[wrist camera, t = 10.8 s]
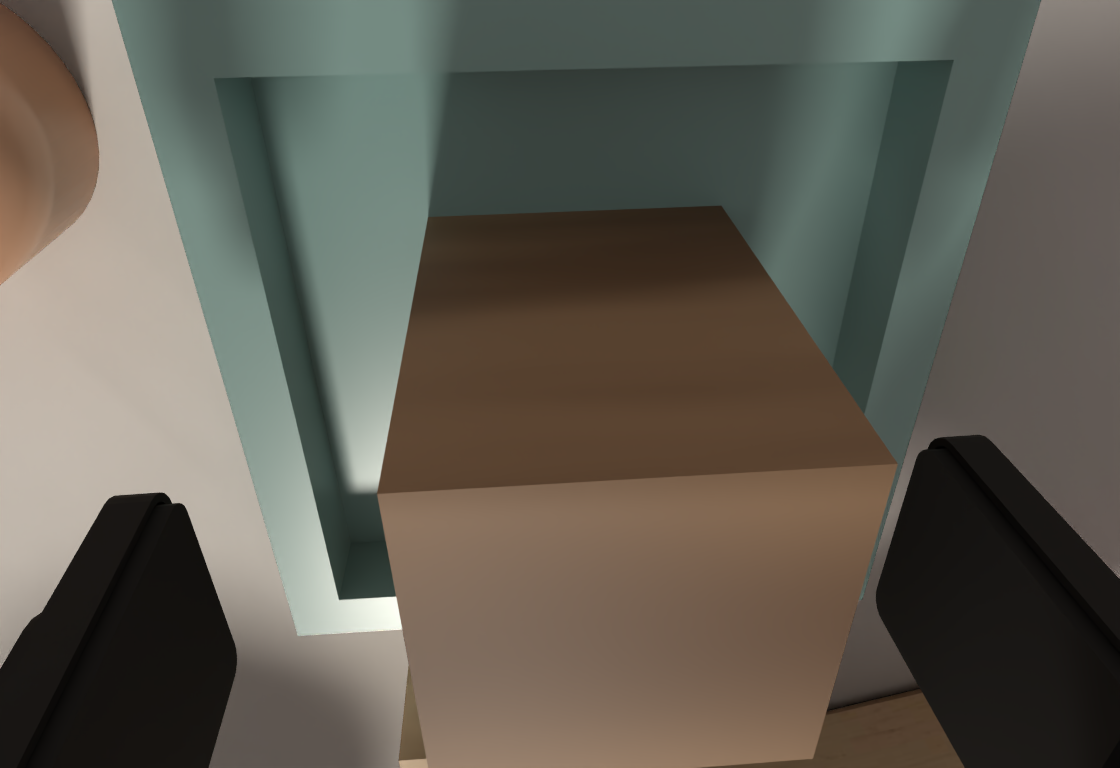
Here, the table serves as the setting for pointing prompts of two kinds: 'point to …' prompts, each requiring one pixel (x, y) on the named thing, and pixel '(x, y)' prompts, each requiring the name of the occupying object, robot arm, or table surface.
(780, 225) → the tray
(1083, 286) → the table surface
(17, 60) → the peach round blob
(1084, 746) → the robot arm
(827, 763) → the decorative block
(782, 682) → the walnut block
